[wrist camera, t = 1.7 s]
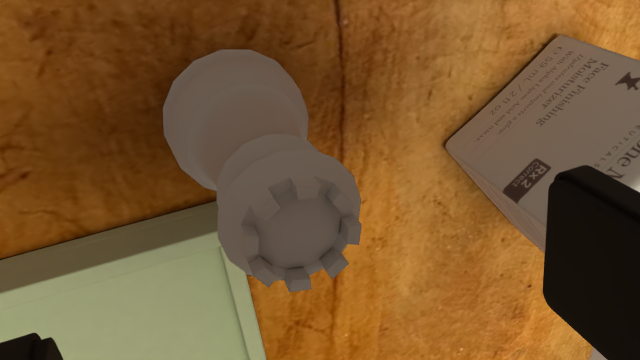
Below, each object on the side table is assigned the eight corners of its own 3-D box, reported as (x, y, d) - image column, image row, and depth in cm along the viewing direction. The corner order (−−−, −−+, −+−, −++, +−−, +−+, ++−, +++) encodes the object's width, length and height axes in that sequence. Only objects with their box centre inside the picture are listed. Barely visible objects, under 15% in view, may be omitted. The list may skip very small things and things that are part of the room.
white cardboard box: (557, 29, 21) (745, 86, 15) (618, 130, 24) (796, 213, 18) (437, 147, 22) (571, 249, 15) (512, 231, 25) (649, 345, 19)
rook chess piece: (280, 183, 20) (369, 330, 13) (149, 168, 19) (175, 328, 12) (313, 59, 19) (431, 154, 12) (173, 30, 17) (218, 121, 10)
